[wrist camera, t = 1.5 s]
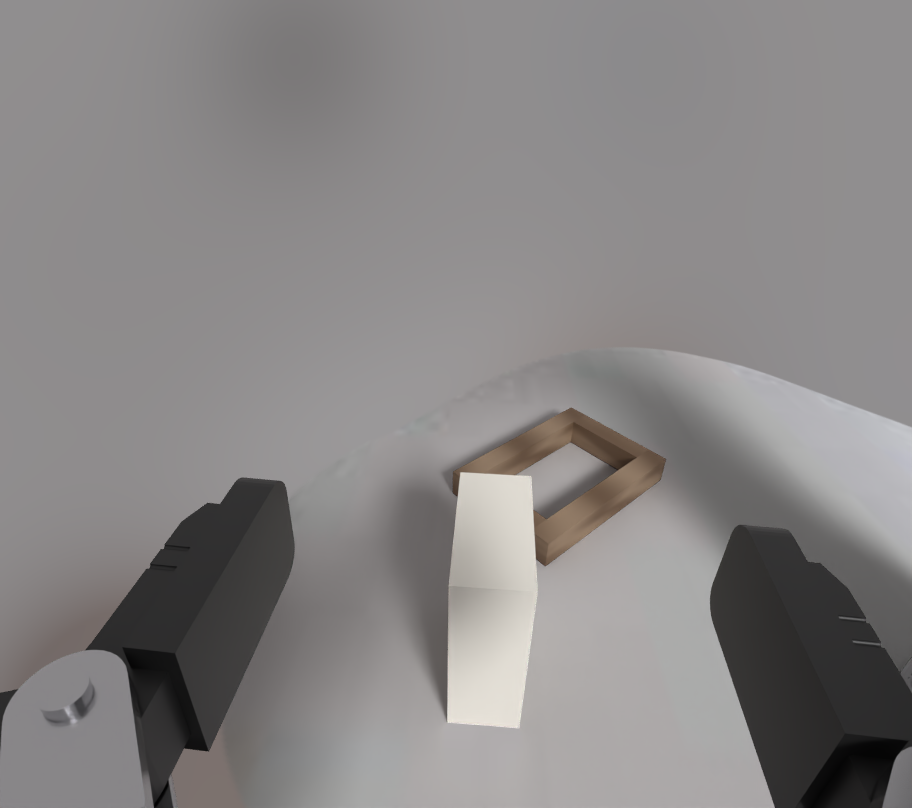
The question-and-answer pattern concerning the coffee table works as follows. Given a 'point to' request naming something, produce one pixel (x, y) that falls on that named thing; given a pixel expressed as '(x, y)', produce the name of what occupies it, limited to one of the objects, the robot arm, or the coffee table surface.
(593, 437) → the frame
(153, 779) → the robot arm
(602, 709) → the coffee table surface
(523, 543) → the key block
